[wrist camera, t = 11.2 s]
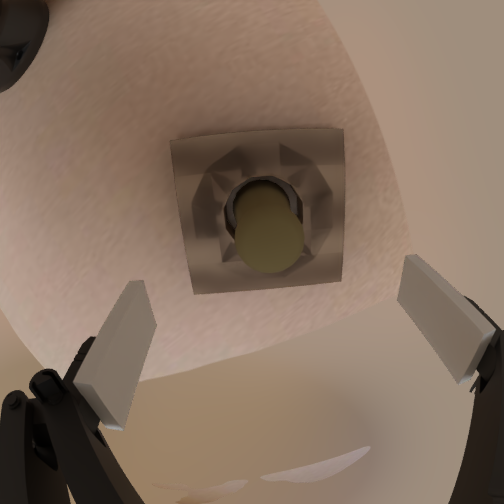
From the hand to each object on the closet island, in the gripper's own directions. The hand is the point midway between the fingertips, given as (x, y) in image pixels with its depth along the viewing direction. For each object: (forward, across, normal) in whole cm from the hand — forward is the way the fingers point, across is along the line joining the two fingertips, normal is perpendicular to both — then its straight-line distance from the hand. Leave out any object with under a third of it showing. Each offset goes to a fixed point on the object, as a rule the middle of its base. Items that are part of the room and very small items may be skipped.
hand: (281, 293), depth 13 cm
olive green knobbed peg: (+18, 0, -1) cm, 18 cm away
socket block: (+18, 0, -1) cm, 18 cm away
